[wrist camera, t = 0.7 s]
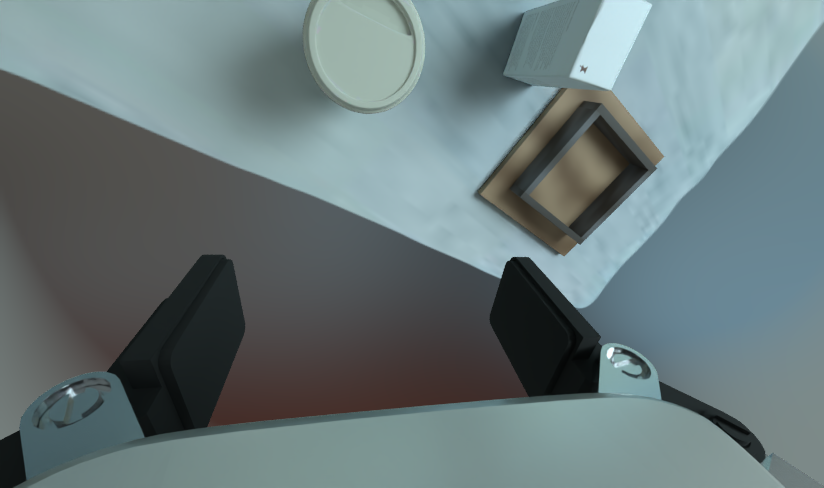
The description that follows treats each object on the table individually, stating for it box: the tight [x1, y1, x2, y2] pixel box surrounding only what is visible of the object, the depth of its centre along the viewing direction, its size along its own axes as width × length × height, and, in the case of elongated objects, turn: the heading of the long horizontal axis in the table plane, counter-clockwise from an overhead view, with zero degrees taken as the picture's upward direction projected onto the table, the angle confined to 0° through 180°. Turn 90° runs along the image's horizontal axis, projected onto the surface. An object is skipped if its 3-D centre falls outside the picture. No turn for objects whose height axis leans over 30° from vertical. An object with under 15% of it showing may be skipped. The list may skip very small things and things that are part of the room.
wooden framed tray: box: [478, 88, 664, 256], centre depth 39 cm, size 18×18×4 cm
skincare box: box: [503, 0, 652, 91], centre depth 28 cm, size 6×4×12 cm
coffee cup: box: [303, 0, 425, 114], centre depth 26 cm, size 8×8×12 cm
